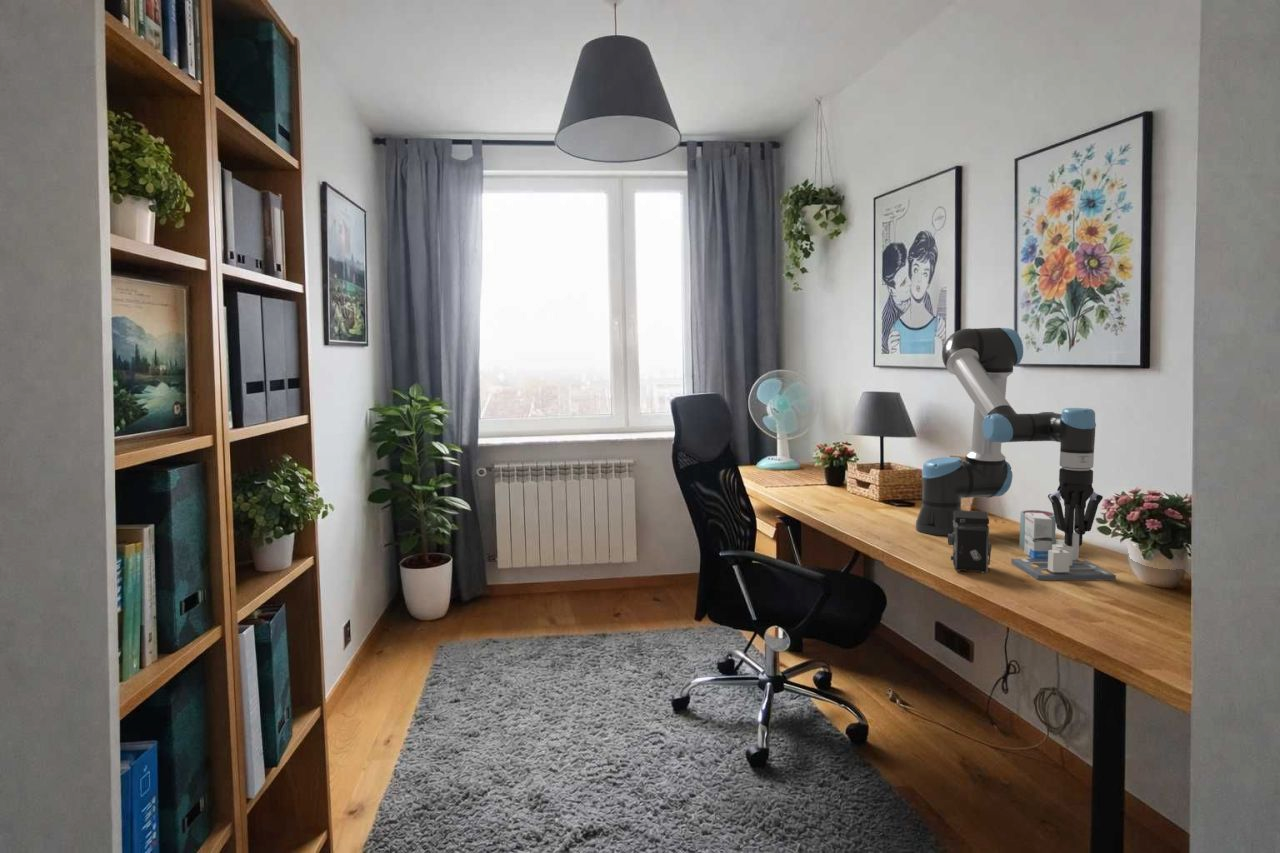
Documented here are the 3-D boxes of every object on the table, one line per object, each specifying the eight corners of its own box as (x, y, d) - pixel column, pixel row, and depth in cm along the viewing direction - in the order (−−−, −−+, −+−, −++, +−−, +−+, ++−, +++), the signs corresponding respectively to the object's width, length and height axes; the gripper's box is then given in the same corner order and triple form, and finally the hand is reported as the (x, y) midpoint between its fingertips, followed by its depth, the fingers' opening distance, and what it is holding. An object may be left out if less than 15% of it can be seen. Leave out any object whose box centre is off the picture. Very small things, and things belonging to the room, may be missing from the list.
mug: (1021, 549, 214) (1022, 515, 213) (1017, 541, 222) (1019, 509, 221) (1075, 553, 208) (1076, 518, 207) (1069, 545, 217) (1071, 512, 216)
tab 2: (1051, 563, 193) (1052, 542, 193) (1067, 563, 193) (1067, 542, 193) (1056, 565, 191) (1057, 544, 190) (1072, 565, 191) (1073, 544, 190)
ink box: (1052, 561, 201) (1054, 519, 200) (1032, 560, 202) (1034, 518, 201) (1042, 552, 210) (1043, 512, 209) (1023, 552, 211) (1024, 511, 210)
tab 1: (1055, 557, 199) (1055, 536, 198) (1070, 557, 198) (1071, 536, 198) (1060, 559, 196) (1060, 539, 196) (1075, 559, 196) (1076, 539, 195)
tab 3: (1047, 569, 188) (1048, 547, 188) (1063, 569, 188) (1064, 547, 187) (1052, 572, 186) (1053, 550, 185) (1069, 572, 185) (1070, 550, 185)
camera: (987, 564, 200) (989, 509, 198) (992, 575, 190) (994, 518, 188) (946, 561, 203) (947, 507, 202) (948, 572, 193) (950, 516, 192)
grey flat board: (1011, 563, 200) (1011, 557, 200) (1083, 562, 199) (1083, 557, 199) (1037, 579, 185) (1037, 573, 185) (1115, 579, 184) (1115, 573, 184)
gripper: (1057, 470, 186) (1054, 561, 188) (1110, 470, 185) (1106, 561, 188) (1043, 466, 194) (1039, 553, 196) (1094, 465, 193) (1090, 553, 195)
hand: (1072, 557), depth 192 cm, fingers closed
